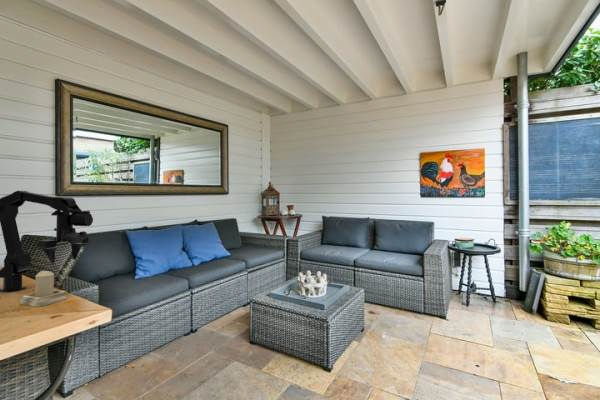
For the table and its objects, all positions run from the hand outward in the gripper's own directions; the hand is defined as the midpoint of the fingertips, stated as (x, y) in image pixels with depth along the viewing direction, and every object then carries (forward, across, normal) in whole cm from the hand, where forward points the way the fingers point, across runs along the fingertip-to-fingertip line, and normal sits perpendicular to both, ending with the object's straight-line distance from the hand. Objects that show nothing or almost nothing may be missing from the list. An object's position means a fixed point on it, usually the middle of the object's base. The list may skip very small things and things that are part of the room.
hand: (64, 261), depth 132 cm
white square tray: (+12, -13, -8) cm, 20 cm away
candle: (+11, -13, -8) cm, 19 cm away
